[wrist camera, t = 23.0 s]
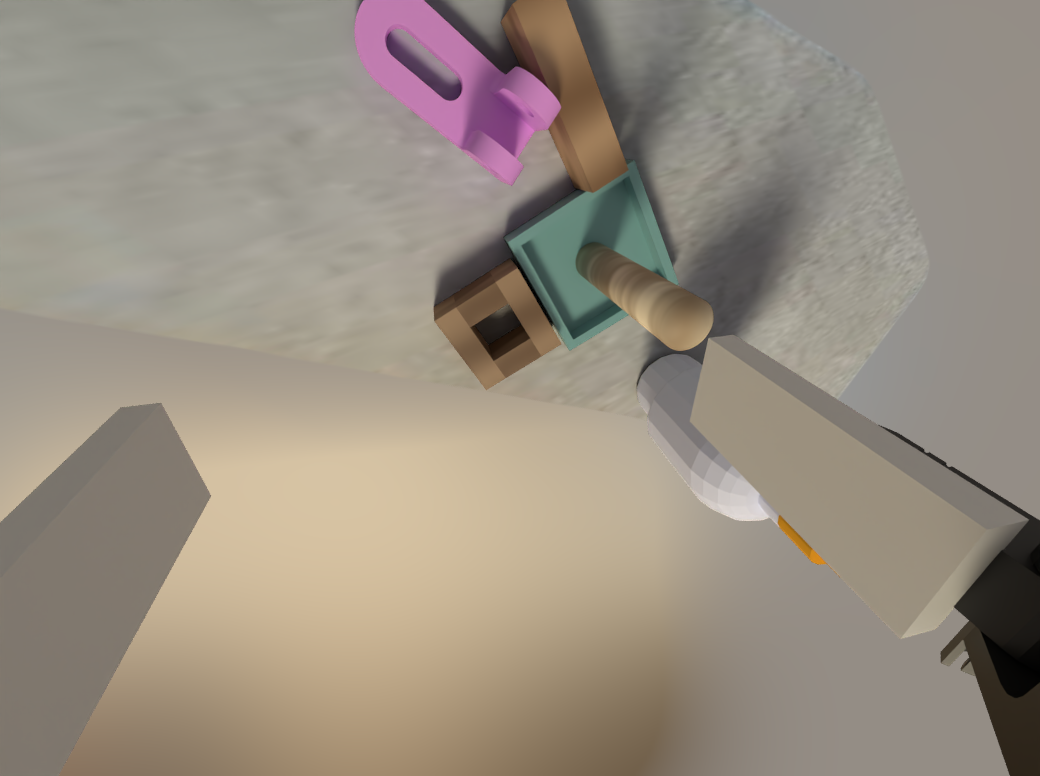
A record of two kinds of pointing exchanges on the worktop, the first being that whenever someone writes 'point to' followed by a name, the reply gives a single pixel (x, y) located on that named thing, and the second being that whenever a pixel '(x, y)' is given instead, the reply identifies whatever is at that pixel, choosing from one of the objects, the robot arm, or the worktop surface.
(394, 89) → the bracket
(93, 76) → the worktop surface
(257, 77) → the worktop surface
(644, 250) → the tray
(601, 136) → the block
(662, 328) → the dowel
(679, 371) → the soap bottle
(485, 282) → the socket block
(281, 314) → the worktop surface
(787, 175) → the worktop surface
